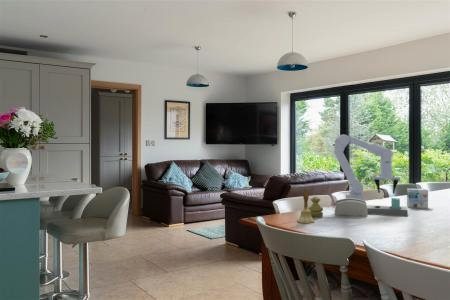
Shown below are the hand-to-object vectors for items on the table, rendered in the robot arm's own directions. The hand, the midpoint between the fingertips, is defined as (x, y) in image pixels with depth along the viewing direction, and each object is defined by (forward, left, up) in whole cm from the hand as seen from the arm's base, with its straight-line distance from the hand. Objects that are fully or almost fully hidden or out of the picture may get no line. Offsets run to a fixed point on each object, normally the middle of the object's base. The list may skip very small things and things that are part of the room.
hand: (386, 193), depth 217 cm
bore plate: (0, -13, -9) cm, 16 cm away
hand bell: (-36, -52, -10) cm, 64 cm away
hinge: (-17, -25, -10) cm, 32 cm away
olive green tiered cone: (-34, -36, -10) cm, 50 cm away
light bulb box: (+17, +16, -10) cm, 25 cm away
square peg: (+5, -13, -9) cm, 17 cm away
